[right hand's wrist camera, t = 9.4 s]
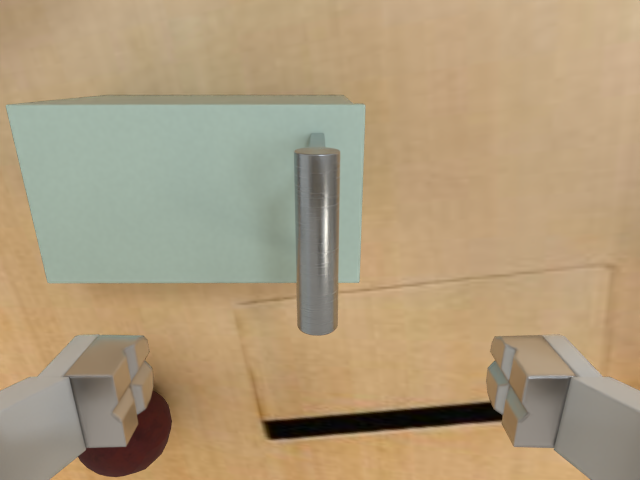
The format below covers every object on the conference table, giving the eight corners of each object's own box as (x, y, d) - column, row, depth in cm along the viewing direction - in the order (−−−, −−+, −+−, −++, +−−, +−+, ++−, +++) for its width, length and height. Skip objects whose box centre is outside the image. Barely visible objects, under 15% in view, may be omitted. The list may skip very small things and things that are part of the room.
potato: (84, 396, 41) (39, 456, 35) (144, 355, 40) (110, 410, 33) (138, 445, 44) (106, 511, 37) (198, 408, 42) (176, 471, 35)
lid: (364, 103, 23) (387, 118, 15) (358, 277, 26) (374, 361, 19) (15, 103, 23) (-140, 118, 15) (55, 277, 26) (-55, 362, 19)
